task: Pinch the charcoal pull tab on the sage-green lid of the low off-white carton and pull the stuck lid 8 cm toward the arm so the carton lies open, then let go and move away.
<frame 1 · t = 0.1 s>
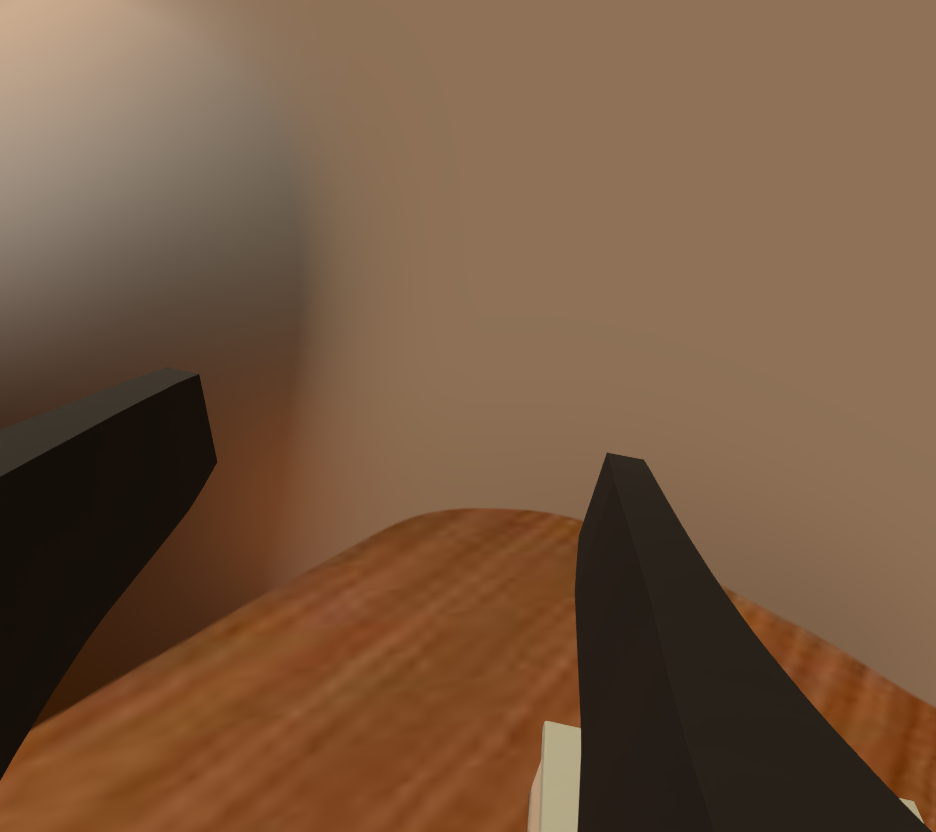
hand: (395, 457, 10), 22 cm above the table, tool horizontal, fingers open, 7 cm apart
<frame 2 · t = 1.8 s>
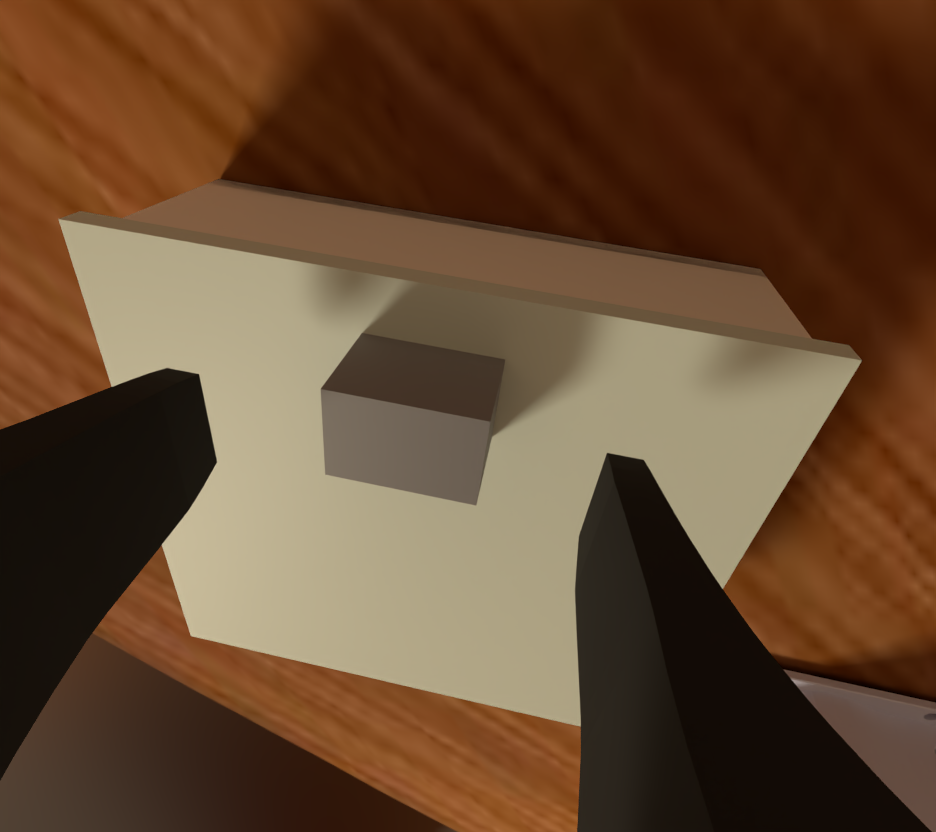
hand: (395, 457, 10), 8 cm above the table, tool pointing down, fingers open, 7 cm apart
lid: (408, 566, 14), point 6 cm above the table, slide at 0.0 cm
carton: (454, 426, 19), on the table
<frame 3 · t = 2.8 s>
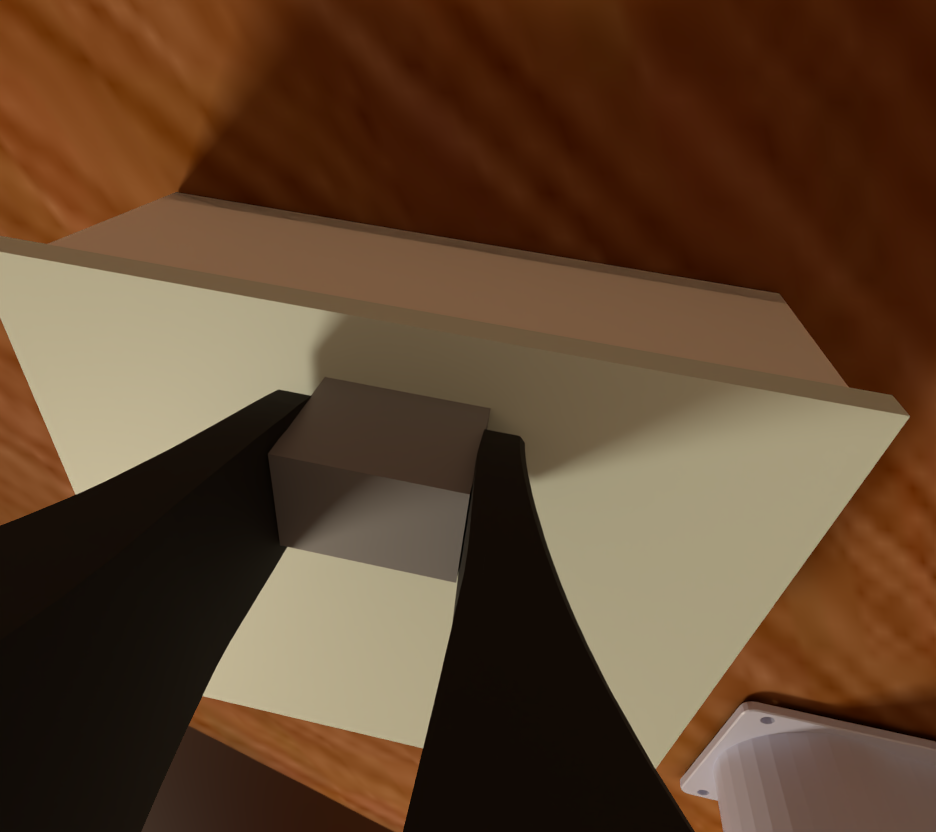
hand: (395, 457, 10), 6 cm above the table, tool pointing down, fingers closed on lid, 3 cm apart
lid: (385, 629, 13), point 6 cm above the table, slide at 0.0 cm, touching gripper
carton: (441, 458, 18), on the table
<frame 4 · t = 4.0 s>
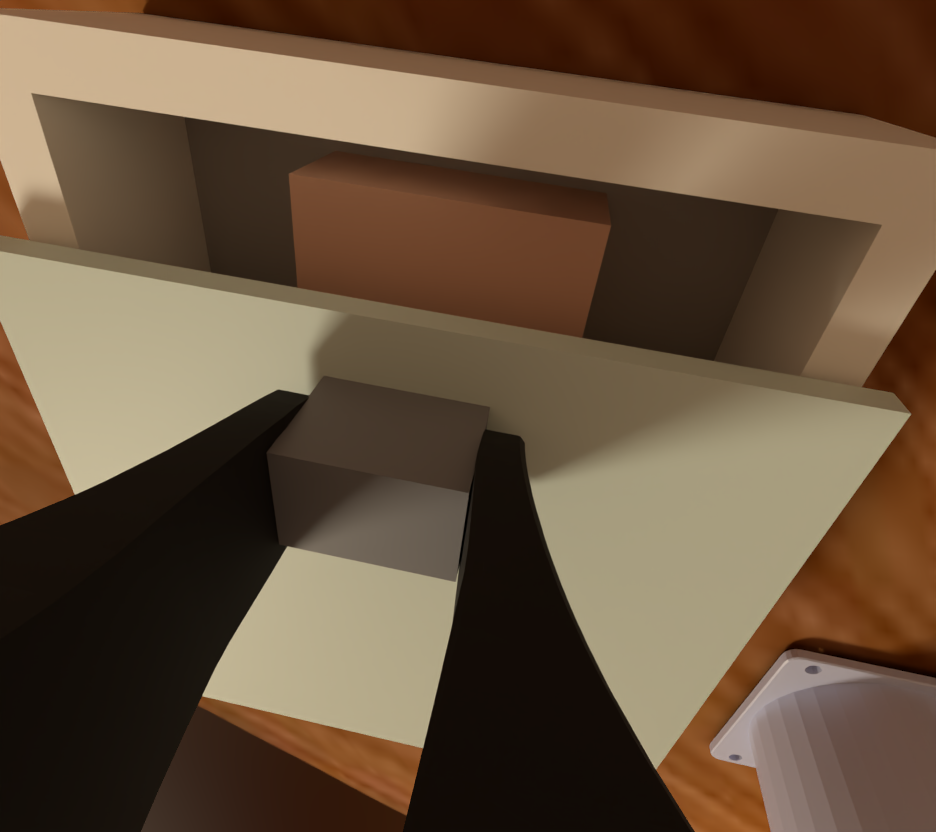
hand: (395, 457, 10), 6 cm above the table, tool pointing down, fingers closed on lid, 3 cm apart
lid: (385, 628, 13), point 6 cm above the table, slide at 3.7 cm, touching gripper
carton: (452, 357, 15), on the table
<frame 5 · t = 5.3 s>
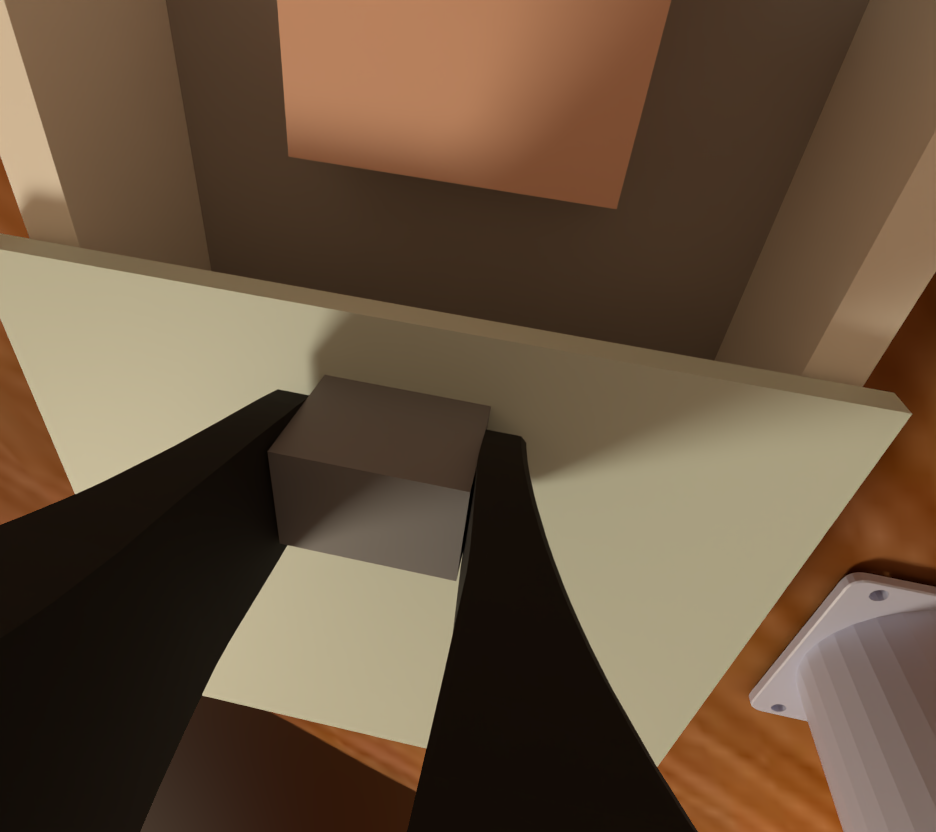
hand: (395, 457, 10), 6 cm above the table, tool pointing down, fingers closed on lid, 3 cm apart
lid: (385, 628, 13), point 6 cm above the table, slide at 8.0 cm, touching gripper
carton: (470, 198, 13), on the table
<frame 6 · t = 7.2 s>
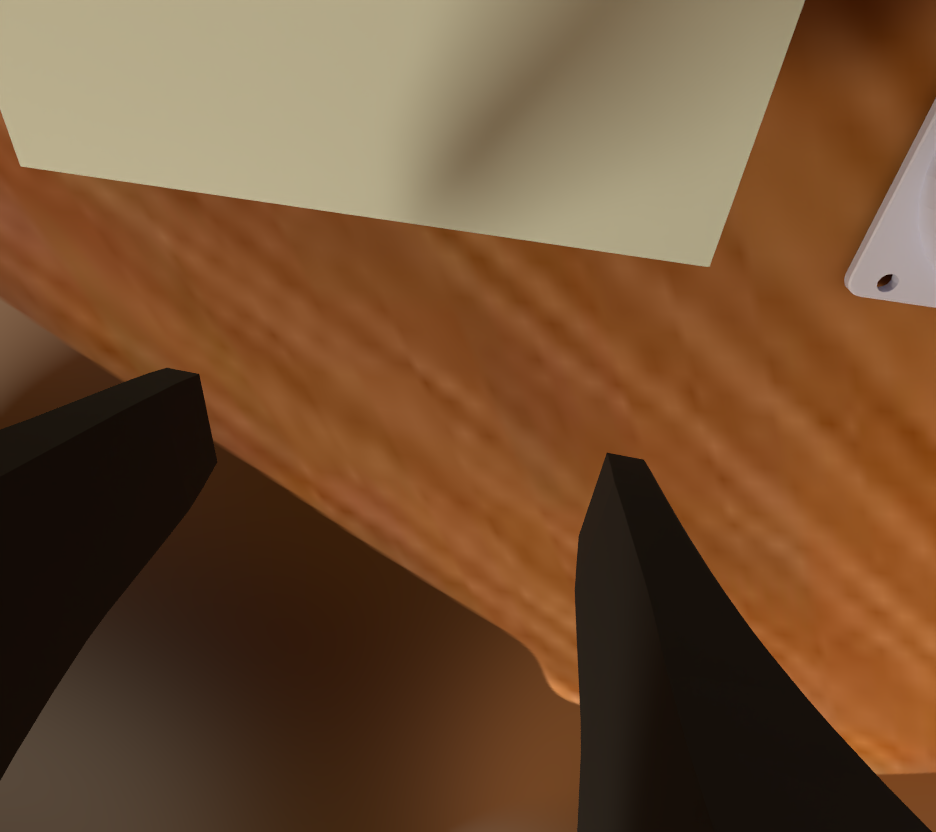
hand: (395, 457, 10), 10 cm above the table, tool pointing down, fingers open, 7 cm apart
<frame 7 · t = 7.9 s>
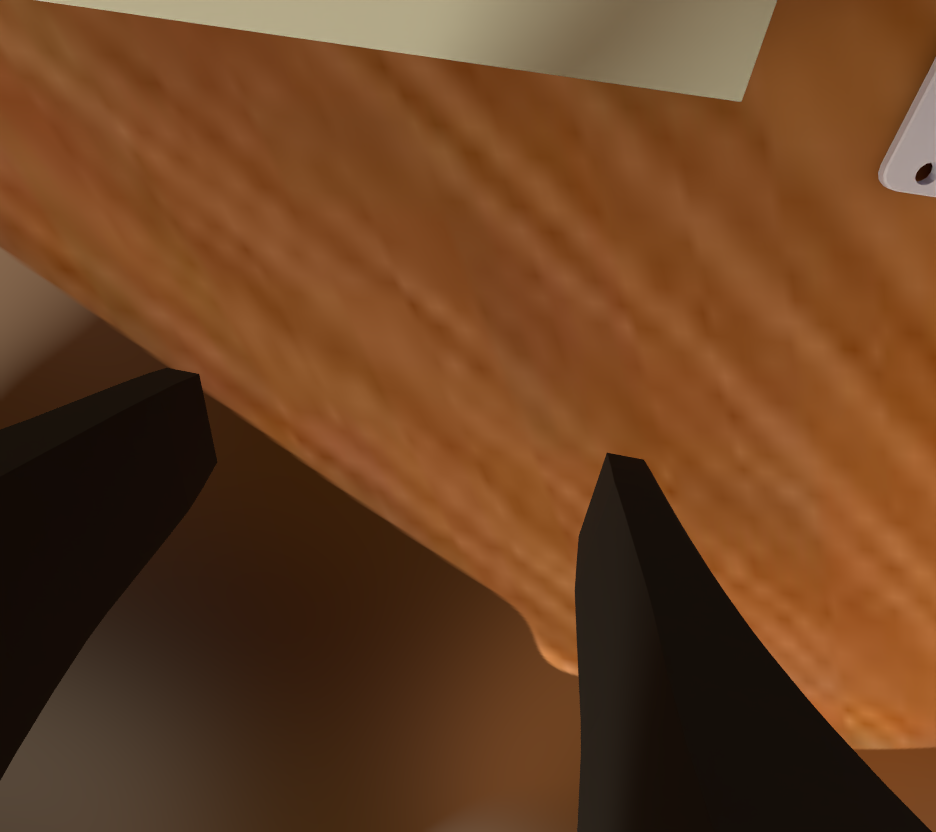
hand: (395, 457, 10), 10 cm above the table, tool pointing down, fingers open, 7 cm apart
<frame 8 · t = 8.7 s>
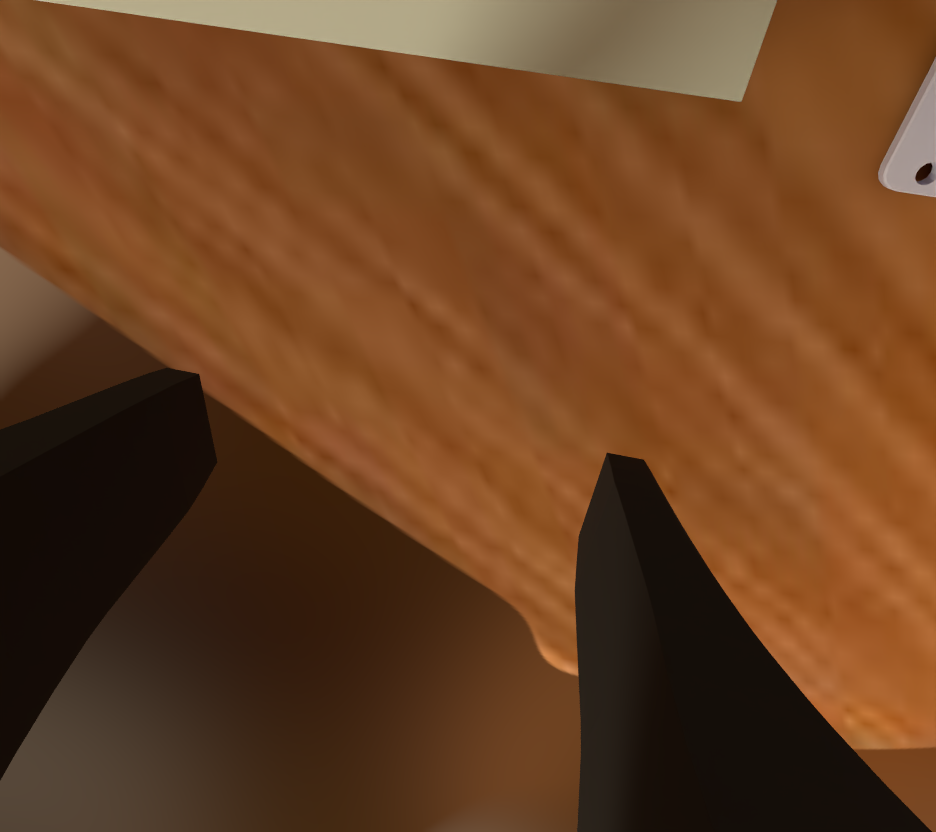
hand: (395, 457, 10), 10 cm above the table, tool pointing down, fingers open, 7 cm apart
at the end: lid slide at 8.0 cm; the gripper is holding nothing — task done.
